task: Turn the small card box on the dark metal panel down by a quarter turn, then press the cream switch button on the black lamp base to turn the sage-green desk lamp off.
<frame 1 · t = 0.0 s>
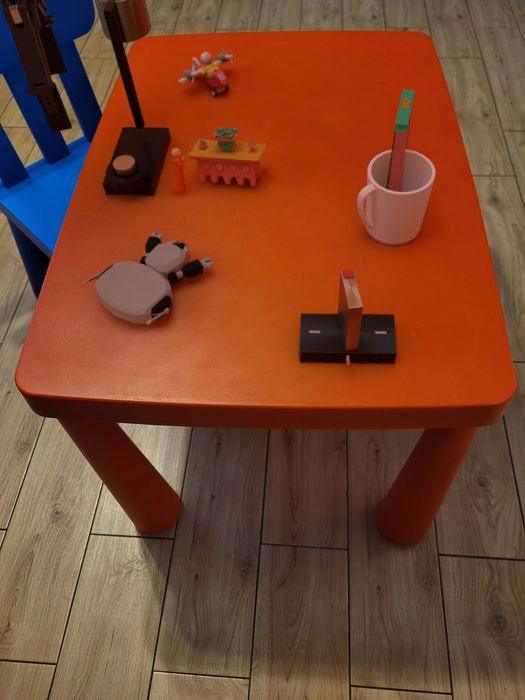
hand: (60, 99, 87), 15 cm above the table, tool pointing down, fingers open, 13 cm apart
small card box: (349, 311, 73), point 7 cm above the table, hinge at 100.0°
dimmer: (346, 343, 79), on the table
building blocks: (288, 184, 95), point 1 cm above the table, touching mug
mug: (386, 229, 90), on the table, touching building blocks
toy airplane: (209, 85, 112), on the table
lamp: (140, 125, 100), resting on lamp base
lamp base: (139, 165, 101), on the table
robot toy: (154, 289, 87), on the table
lamp switch: (125, 166, 94), point 4 cm above the table, slide at 0.1 cm
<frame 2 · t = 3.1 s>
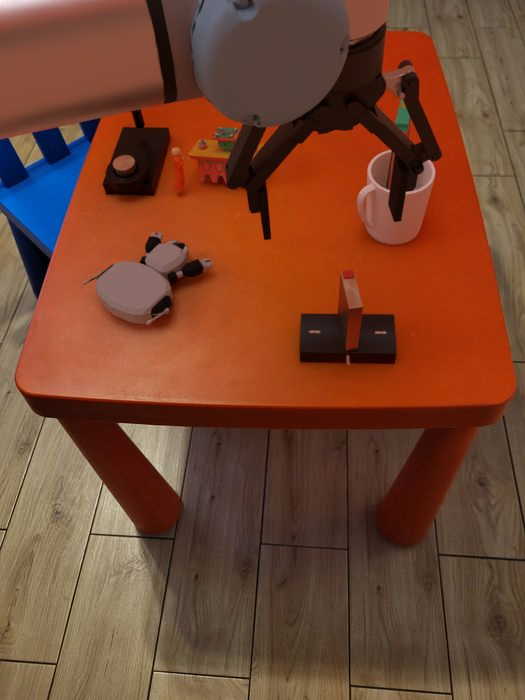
hand: (330, 221, 64), 20 cm above the table, tool pointing down, fingers open, 13 cm apart
nothing on the table moved.
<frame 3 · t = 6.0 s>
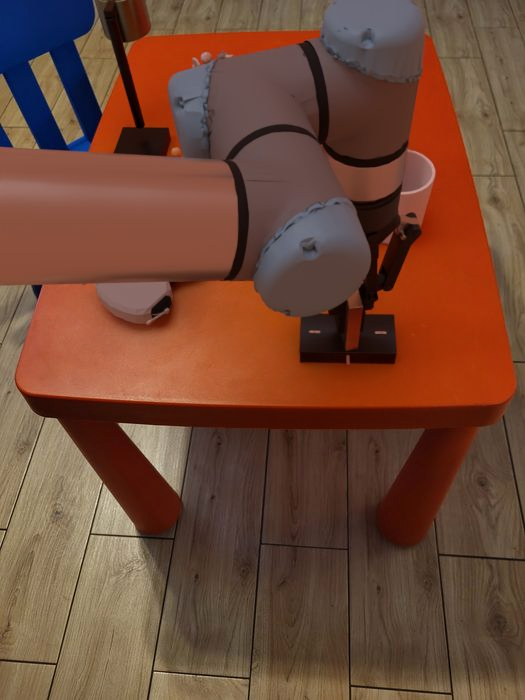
hand: (348, 323, 76), 4 cm above the table, tool pointing down, fingers closed on small card box, 2 cm apart
small card box: (349, 311, 73), point 7 cm above the table, hinge at 100.0°, touching gripper
everything else where it was.
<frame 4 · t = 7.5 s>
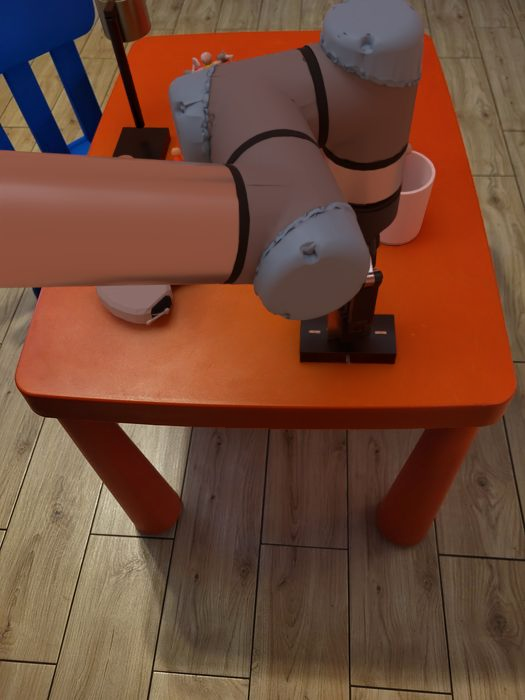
hand: (348, 325, 76), 4 cm above the table, tool pointing down, fingers open, 3 cm apart
small card box: (349, 311, 73), point 7 cm above the table, hinge at 10.0°
everything else where it was.
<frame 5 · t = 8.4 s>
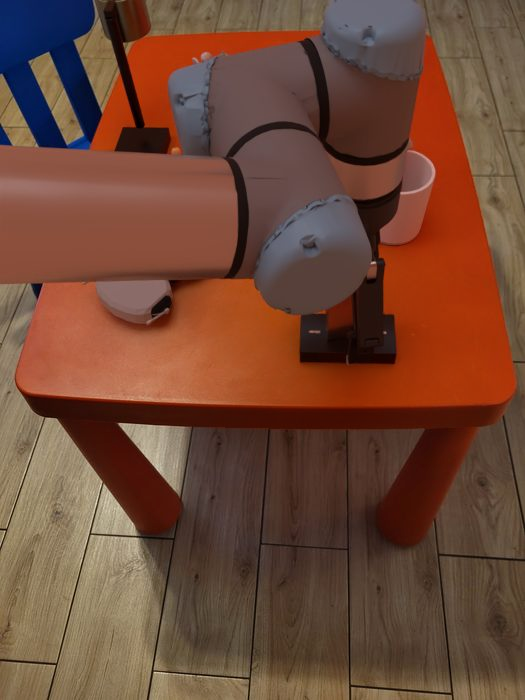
hand: (348, 312, 74), 7 cm above the table, tool pointing down, fingers open, 13 cm apart
nothing on the table moved.
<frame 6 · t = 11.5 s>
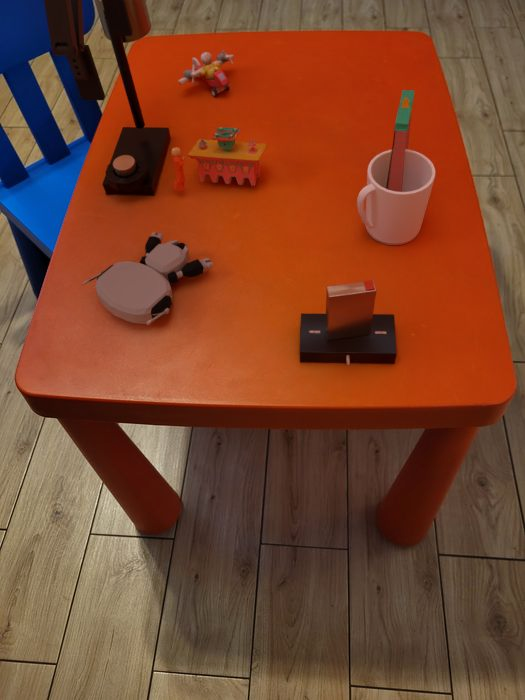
hand: (108, 65, 77), 23 cm above the table, tool pointing down, fingers open, 13 cm apart
nothing on the table moved.
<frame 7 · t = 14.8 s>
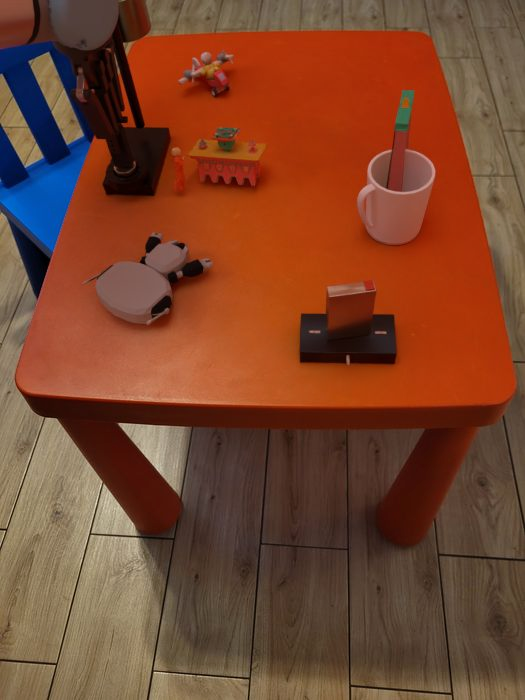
hand: (124, 163, 94), 5 cm above the table, tool pointing down, fingers closed
lamp switch: (126, 169, 95), point 4 cm above the table, slide at -0.5 cm, touching gripper
everything else where it was.
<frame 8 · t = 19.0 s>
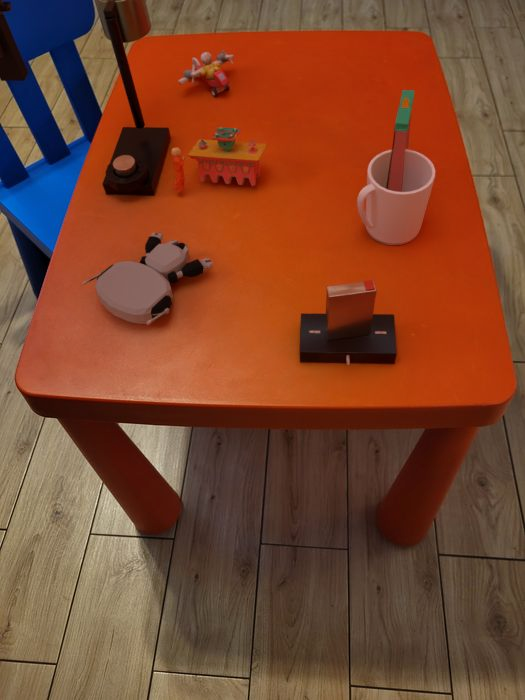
hand: (14, 76, 68), 28 cm above the table, tool pointing down, fingers closed
lamp switch: (125, 166, 94), point 4 cm above the table, slide at 0.1 cm
everything else where it was.
at the end: small card box at +10° (first picture: +100°); lamp switch pushed in 1.0 cm at the most during the clip, back to where it started at the end; lamp switch slide at 0.1 cm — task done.
